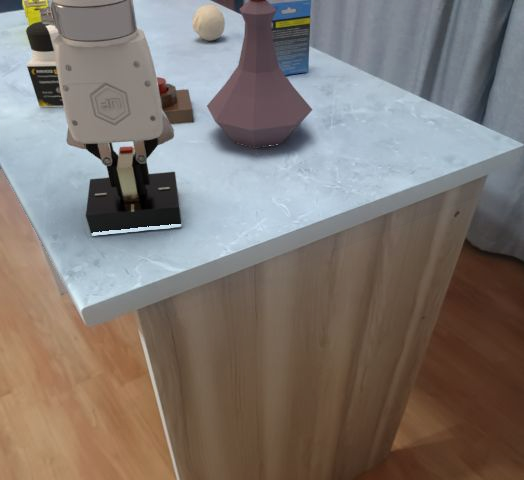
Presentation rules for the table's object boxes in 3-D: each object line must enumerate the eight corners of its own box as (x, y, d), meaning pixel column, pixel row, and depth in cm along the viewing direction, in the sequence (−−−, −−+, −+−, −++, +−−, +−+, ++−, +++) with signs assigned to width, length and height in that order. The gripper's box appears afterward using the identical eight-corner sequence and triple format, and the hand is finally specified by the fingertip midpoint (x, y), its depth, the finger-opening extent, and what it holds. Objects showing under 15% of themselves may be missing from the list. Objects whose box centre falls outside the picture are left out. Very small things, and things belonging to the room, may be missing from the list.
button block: (127, 127, 85) (122, 102, 82) (127, 106, 91) (122, 82, 88) (193, 122, 86) (191, 97, 83) (189, 102, 92) (187, 78, 89)
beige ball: (189, 37, 119) (186, 3, 114) (219, 33, 121) (217, 0, 116) (199, 46, 115) (195, 11, 110) (229, 41, 116) (228, 7, 112)
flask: (217, 113, 89) (207, -29, 74) (313, 116, 87) (321, -28, 73) (198, 156, 77) (183, -1, 63) (308, 161, 76) (317, 1, 62)
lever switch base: (91, 237, 63) (85, 215, 61) (95, 199, 69) (89, 177, 67) (182, 228, 64) (178, 205, 62) (177, 191, 70) (174, 169, 68)
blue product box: (301, 66, 105) (304, -6, 96) (308, 73, 102) (312, -1, 93) (259, 72, 103) (259, -1, 94) (266, 78, 100) (266, 4, 91)
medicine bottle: (39, 108, 91) (15, 30, 82) (49, 93, 96) (27, 18, 87) (80, 107, 91) (60, 30, 82) (88, 92, 96) (70, 17, 87)
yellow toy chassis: (30, 25, 127) (18, -16, 121) (54, 23, 128) (43, -18, 122) (32, 44, 116) (19, 0, 110) (58, 41, 118) (47, -2, 112)
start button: (145, 97, 85) (143, 85, 83) (145, 89, 87) (143, 78, 86) (167, 95, 85) (166, 84, 84) (166, 87, 87) (165, 76, 86)
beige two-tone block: (139, 201, 63) (131, 164, 59) (124, 202, 63) (115, 165, 59) (140, 181, 66) (133, 145, 63) (126, 182, 66) (118, 146, 63)
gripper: (6, 34, 48) (63, 211, 61) (178, 26, 49) (197, 201, 62) (21, 13, 53) (71, 180, 66) (177, 6, 54) (195, 171, 67)
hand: (132, 189), depth 64 cm, fingers closed on beige two-tone block, 2 cm apart
